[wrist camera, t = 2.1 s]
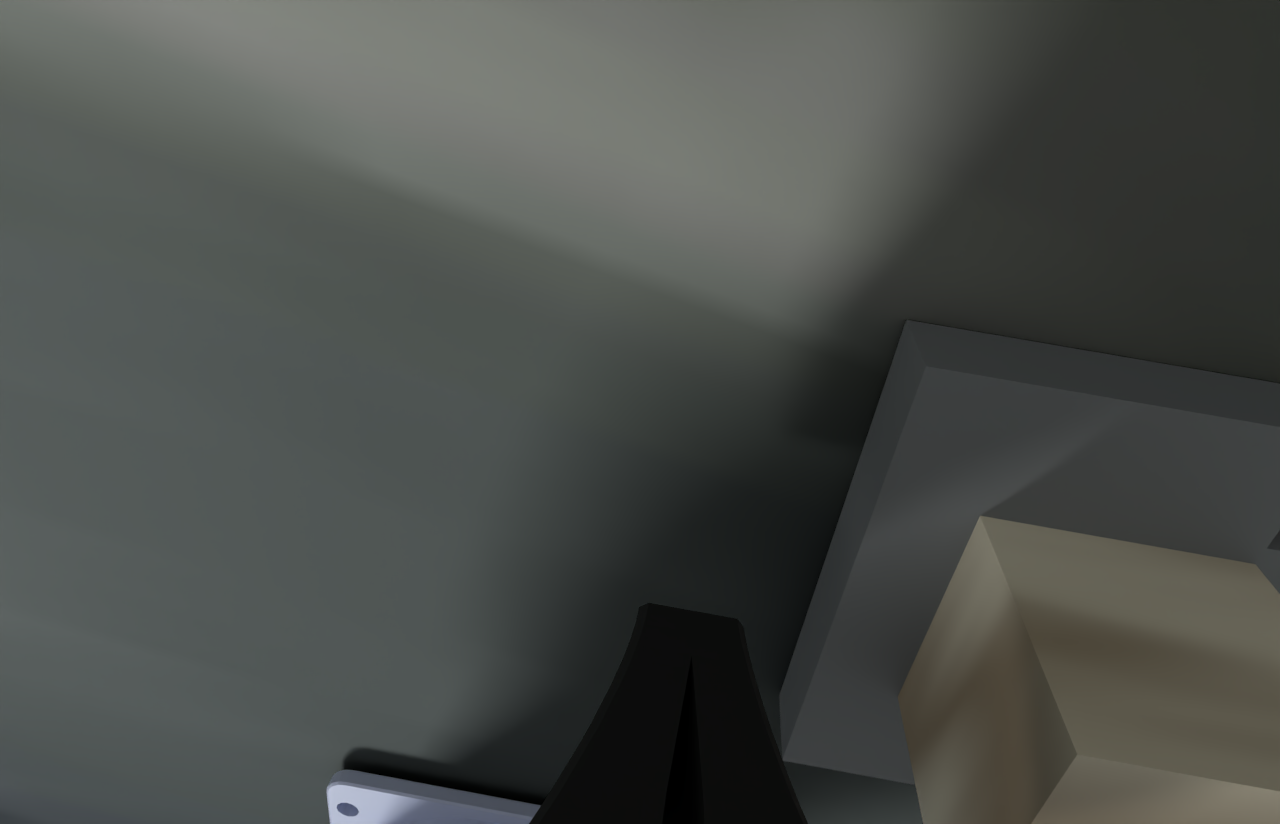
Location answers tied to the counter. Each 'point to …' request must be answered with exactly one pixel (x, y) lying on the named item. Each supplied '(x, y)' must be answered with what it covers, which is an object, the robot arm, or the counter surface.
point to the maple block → (1096, 686)
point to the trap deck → (1012, 504)
